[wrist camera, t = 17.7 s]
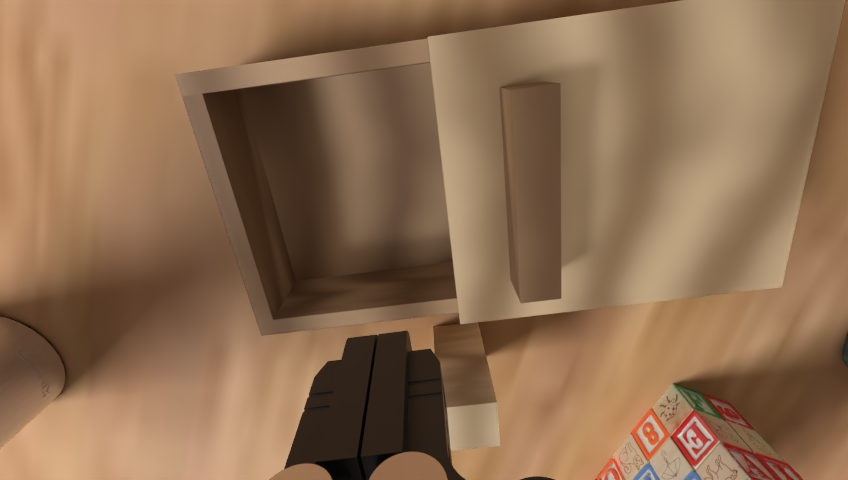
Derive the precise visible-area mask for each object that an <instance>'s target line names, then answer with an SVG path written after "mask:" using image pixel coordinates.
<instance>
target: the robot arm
mask: <svg viewBox="0 0 848 480" xmlns="http://www.w3.org/2000/svg"><path fill="white" fill-rule="evenodd" d="M65 377H66V376H65V370H64V366H63V364H62V361H61V359H60V357H59V355H58V354H57V353H56V351H55V350H54V348H53V347H52V346H51V345H50V344H49V343H48V342H47V341H46V340H45V339H44V338H43V337H42V336H40V335H39V334H38V333H36V332H35V331H34V330H32V329H30V328H28V327H27V326H25V325H23V324H21V323H19V322H16V321H14V320H11V319H8V318H6V317H1V316H0V448H2V447H3V446H4V445H5V444H6V443H7V442H8V441H9V440H10V439H11V438H13V437H14V436H15V435H16V434H17V433H18V432H19V431H20V430H22V429H23V428H24V427H25V426H26V425H27V424H28V423H29V422H30V421H31V420H33V419H34V418H35V417H36V416H37V415H38V414H39V413H40V412H41V411H42V410H44V409H45V408H46V407H47V406H48V405H49V404H50V403H51V402H52V401H53V400H55V399H56V397H57V396H58V395H59V394H60V393H61V391H62V389H63V387H64V385H65ZM304 410H305V411H304V412H303V414H302V417H301V420H300V423H299V426H298V429H297V432H296V435H295V438H294V441H293V444H292V447H291V450H290V453H289V456H288V459H287V462H286V465H285V468H284V470H282V471H281V472H279V473H277V474H276V475H274V476H273V477H272V478H271V479H270V480H465V479H464V478H463V477H461V476H460V475H459V474H458V473H457V472H456V470H455V469H454V468H453V466H452V459H451V448H450V436H449V425H448V414H447V406H446V399H445V392H444V385H443V379H442V372H441V365H440V361H439V360H438V358H437V357H436V356H435V354H434V353H433V352H432V350H431V349H425V350H417V351H412V348H411V342H410V337H409V333H408V331H402V332H394V333H386V334H379V335H370V336H362V337H354V338H348V339H347V341H346V345H345V348H344V352H343V356H342V360H336V361H328V362H327V363H326V364H325V365H324V367H323V368H322V369H321V370H320V371H319V373H318V374H317V375H316V376H315V378H314V381H313V384H312V387H311V390H310V393H309V397H308V399H307V402H306V405H305V408H304ZM521 480H554V479H551V478H546V477H528V478H524V479H521Z"/></svg>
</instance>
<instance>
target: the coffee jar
mask: <svg viewBox="0 0 848 480" xmlns="http://www.w3.org/2000/svg"><path fill="white" fill-rule="evenodd" d="M842 354H843V360H844V362H845V364H846V365H847V367H848V335H847V337H846V340H845V344H844V347H843V353H842Z"/></svg>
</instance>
